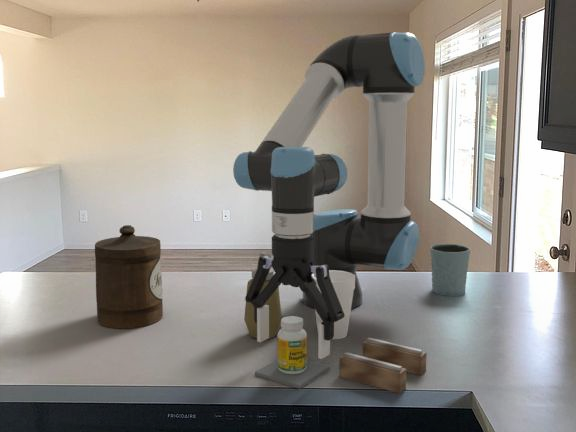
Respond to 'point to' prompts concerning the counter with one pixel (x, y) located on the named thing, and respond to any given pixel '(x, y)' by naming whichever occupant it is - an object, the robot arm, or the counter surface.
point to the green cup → (449, 268)
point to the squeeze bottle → (272, 302)
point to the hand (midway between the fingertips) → (292, 347)
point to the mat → (292, 379)
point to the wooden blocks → (383, 364)
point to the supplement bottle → (292, 346)
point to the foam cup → (340, 299)
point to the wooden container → (128, 280)
